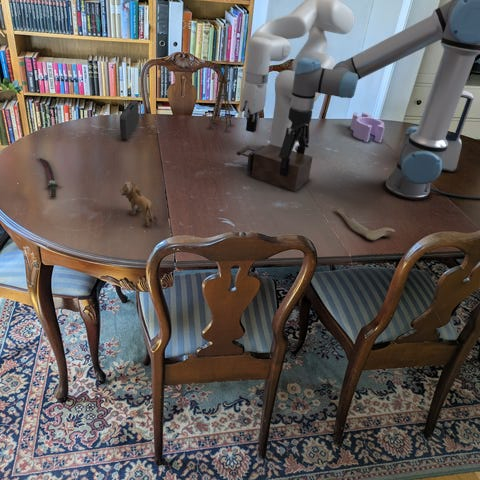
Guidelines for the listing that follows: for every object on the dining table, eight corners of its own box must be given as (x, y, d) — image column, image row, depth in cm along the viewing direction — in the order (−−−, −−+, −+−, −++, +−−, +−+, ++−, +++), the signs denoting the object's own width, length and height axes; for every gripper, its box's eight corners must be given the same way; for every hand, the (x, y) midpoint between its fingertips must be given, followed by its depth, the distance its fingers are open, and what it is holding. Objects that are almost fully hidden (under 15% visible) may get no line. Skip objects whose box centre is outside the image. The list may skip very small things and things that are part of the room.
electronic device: (453, 166, 192) (481, 93, 175) (454, 173, 186) (482, 98, 169) (422, 160, 194) (446, 87, 178) (422, 167, 188) (447, 92, 172)
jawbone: (381, 248, 134) (382, 242, 133) (320, 221, 145) (321, 216, 143) (394, 234, 140) (396, 229, 139) (335, 210, 150) (336, 204, 149)
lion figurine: (118, 210, 138) (116, 182, 133) (132, 204, 141) (131, 177, 137) (151, 229, 130) (150, 201, 126) (165, 223, 134) (165, 195, 129)
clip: (343, 126, 223) (346, 112, 219) (367, 127, 225) (371, 113, 221) (360, 142, 206) (364, 127, 202) (386, 142, 209) (390, 127, 205)
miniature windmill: (227, 131, 202) (232, 59, 186) (208, 128, 203) (212, 56, 187) (231, 125, 210) (237, 55, 193) (213, 122, 211) (217, 52, 194)
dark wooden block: (251, 177, 166) (254, 153, 161) (266, 166, 175) (269, 143, 170) (294, 191, 159) (298, 167, 155) (308, 180, 168) (312, 156, 163)
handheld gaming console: (132, 121, 201) (132, 98, 196) (139, 122, 202) (138, 99, 196) (119, 140, 182) (118, 115, 177) (126, 141, 182) (125, 116, 177)
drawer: (232, 167, 169) (234, 149, 165) (247, 158, 177) (249, 141, 173) (286, 184, 161) (289, 166, 157) (298, 175, 169) (301, 157, 165)
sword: (61, 197, 141) (61, 193, 140) (50, 198, 139) (50, 194, 139) (49, 160, 164) (48, 156, 163) (39, 160, 163) (39, 157, 162)
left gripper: (257, 71, 162) (251, 123, 172) (235, 79, 151) (230, 133, 161) (276, 76, 159) (269, 128, 169) (255, 84, 148) (249, 139, 158)
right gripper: (305, 98, 162) (295, 156, 174) (274, 114, 144) (265, 177, 156) (325, 103, 159) (314, 162, 171) (296, 120, 141) (285, 184, 153)
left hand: (250, 130), depth 165 cm, fingers closed
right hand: (291, 169), depth 163 cm, fingers closed on dark wooden block, 12 cm apart
